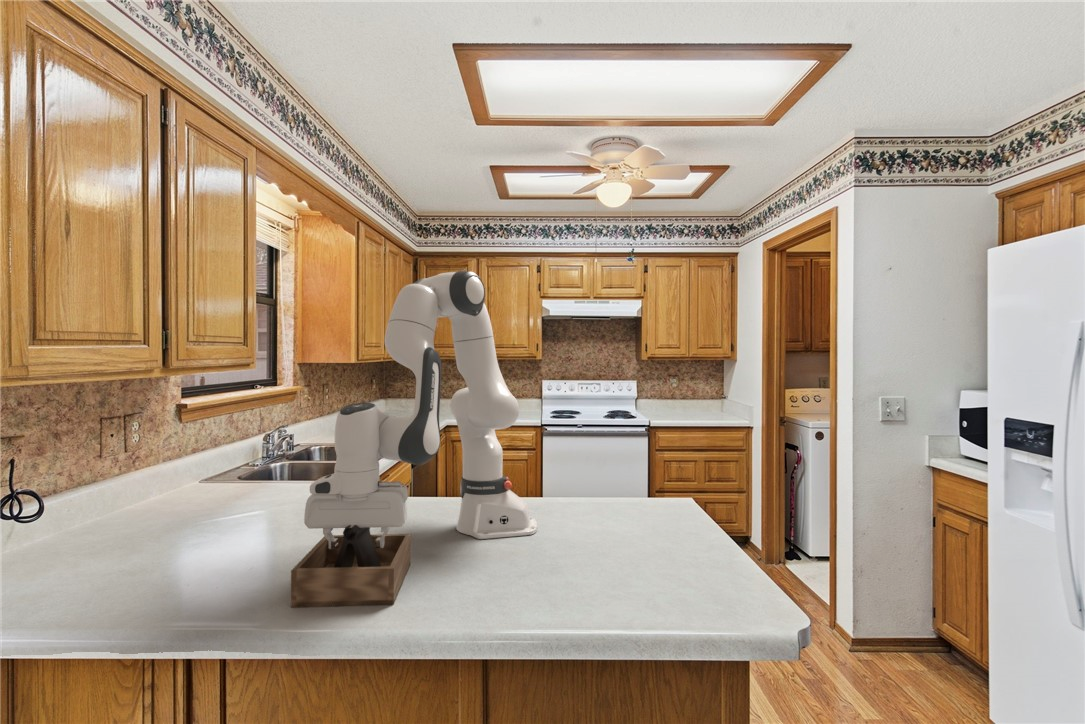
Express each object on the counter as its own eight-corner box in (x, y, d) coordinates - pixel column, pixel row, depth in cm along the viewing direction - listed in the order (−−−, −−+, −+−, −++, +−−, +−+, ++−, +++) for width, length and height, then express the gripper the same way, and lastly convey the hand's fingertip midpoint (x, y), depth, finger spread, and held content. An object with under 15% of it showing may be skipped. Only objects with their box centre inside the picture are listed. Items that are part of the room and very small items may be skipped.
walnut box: (410, 564, 118) (410, 534, 118) (393, 604, 99) (393, 568, 99) (324, 566, 116) (324, 535, 116) (290, 607, 97) (291, 570, 97)
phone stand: (383, 574, 110) (383, 518, 110) (370, 587, 104) (371, 527, 104) (343, 571, 111) (343, 516, 111) (328, 584, 105) (329, 525, 105)
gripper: (410, 477, 111) (410, 541, 112) (312, 478, 110) (312, 543, 110) (405, 485, 105) (404, 552, 105) (301, 486, 103) (301, 554, 104)
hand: (356, 547), depth 108 cm, fingers open, 8 cm apart
